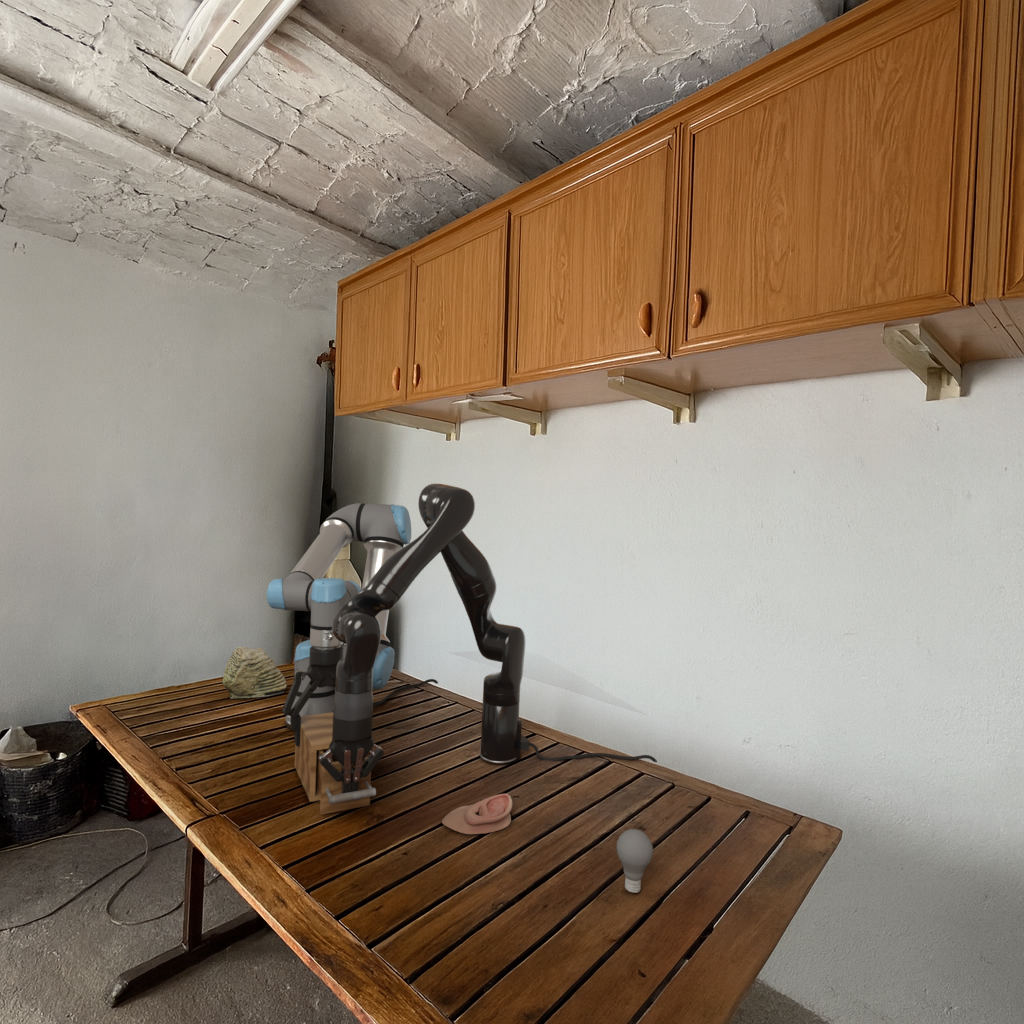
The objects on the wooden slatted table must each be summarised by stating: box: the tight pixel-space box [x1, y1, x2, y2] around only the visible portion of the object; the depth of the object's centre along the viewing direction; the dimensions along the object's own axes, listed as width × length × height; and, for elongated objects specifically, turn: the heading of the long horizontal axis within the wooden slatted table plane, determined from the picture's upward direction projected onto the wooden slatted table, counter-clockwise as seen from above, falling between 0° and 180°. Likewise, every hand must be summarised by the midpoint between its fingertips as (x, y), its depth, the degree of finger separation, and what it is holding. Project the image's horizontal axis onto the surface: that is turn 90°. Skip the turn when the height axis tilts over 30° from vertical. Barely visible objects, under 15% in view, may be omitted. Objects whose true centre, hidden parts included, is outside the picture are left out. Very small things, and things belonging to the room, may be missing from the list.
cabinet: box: [294, 712, 333, 803], centre depth 142 cm, size 19×11×12 cm, turn 28°
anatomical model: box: [441, 793, 513, 835], centre depth 126 cm, size 13×4×12 cm
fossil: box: [222, 646, 288, 699], centre depth 198 cm, size 9×18×15 cm, turn 132°
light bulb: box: [615, 828, 654, 894], centre depth 106 cm, size 6×6×10 cm
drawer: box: [315, 749, 377, 816], centre depth 132 cm, size 23×10×10 cm, turn 28°
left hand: (323, 740), depth 146 cm, fingers closed on cabinet, 11 cm apart
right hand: (349, 798), depth 124 cm, fingers closed
